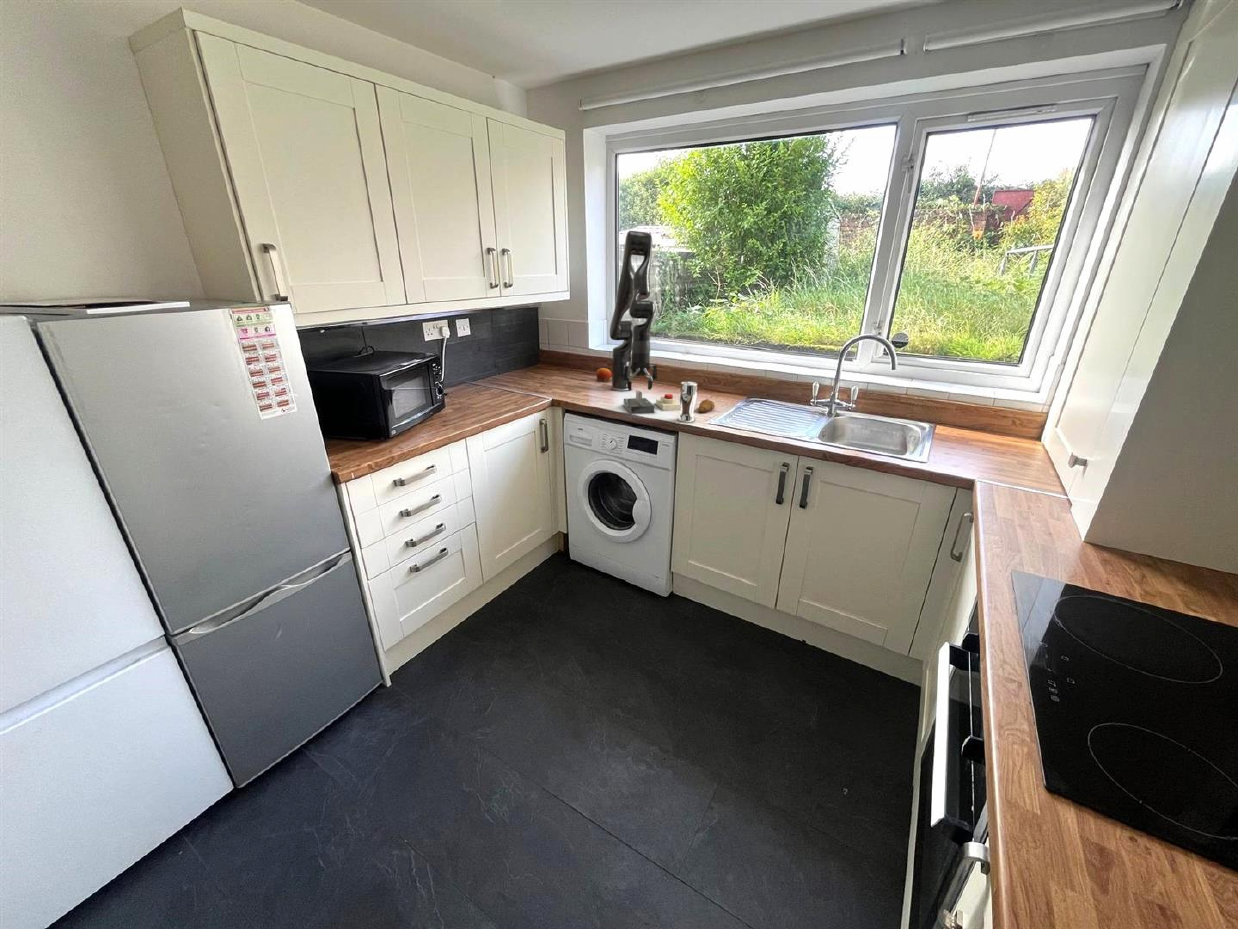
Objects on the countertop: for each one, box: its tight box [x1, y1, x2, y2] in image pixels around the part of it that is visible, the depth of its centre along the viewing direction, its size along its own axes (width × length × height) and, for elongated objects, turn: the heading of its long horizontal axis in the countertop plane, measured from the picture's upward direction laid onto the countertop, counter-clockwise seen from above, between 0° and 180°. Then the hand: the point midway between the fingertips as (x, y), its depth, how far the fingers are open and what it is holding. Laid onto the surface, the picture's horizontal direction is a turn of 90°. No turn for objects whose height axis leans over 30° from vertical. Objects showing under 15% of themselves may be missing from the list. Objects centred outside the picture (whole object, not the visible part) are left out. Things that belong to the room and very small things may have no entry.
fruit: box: [595, 367, 612, 383], centre depth 265 cm, size 8×8×8 cm
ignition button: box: [663, 393, 674, 399], centre depth 218 cm, size 4×4×2 cm
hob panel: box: [623, 397, 655, 415], centre depth 214 cm, size 14×10×3 cm
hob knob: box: [635, 389, 643, 404], centre depth 213 cm, size 5×1×5 cm, turn 13°
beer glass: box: [678, 381, 698, 423], centre depth 198 cm, size 7×7×15 cm
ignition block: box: [655, 395, 680, 411], centre depth 219 cm, size 11×8×4 cm
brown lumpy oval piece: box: [698, 398, 716, 414], centre depth 215 cm, size 14×7×5 cm, turn 151°
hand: (639, 389), depth 212 cm, fingers open, 8 cm apart
